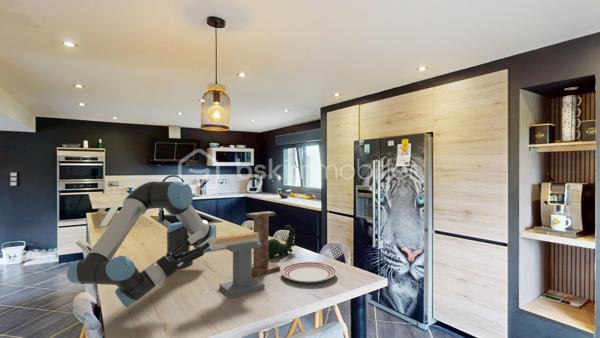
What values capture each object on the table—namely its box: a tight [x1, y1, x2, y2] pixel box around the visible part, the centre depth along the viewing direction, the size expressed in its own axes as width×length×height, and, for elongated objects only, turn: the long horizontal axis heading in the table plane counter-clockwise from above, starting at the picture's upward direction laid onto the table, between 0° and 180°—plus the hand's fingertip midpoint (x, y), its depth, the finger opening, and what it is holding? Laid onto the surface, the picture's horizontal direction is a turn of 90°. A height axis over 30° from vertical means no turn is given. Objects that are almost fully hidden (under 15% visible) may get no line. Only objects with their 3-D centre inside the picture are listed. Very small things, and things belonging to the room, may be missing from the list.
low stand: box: [219, 242, 266, 299], centre depth 136 cm, size 16×12×20 cm
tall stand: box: [246, 210, 281, 278], centre depth 161 cm, size 16×12×30 cm
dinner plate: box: [280, 261, 338, 284], centre depth 153 cm, size 28×27×3 cm
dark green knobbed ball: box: [268, 224, 297, 259], centre depth 187 cm, size 9×19×25 cm
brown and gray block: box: [208, 231, 259, 251], centre depth 134 cm, size 22×4×4 cm, turn 128°
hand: (208, 235), depth 127 cm, fingers open, 13 cm apart
